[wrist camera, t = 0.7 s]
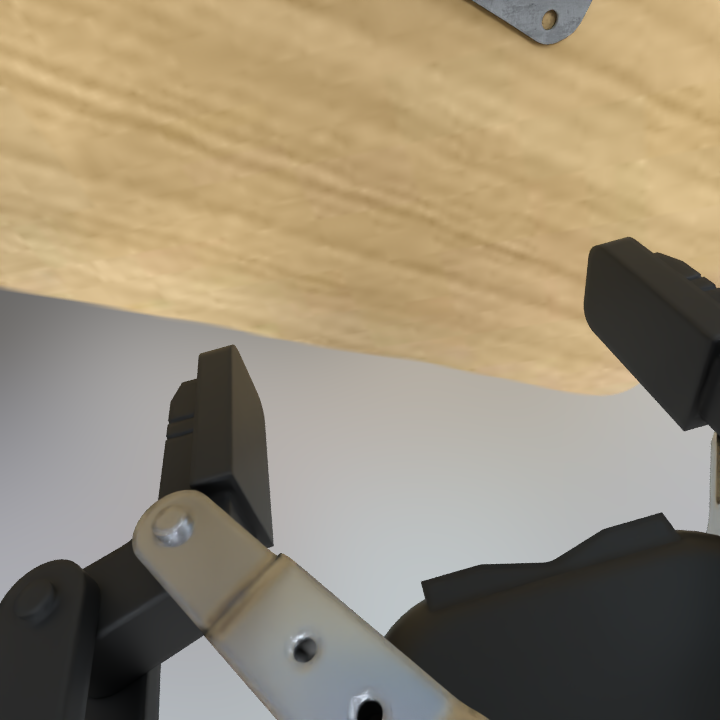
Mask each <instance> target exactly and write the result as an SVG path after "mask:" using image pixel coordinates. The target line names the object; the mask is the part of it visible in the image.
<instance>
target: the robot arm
mask: <svg viewBox="0 0 720 720" xmlns="http://www.w3.org/2000/svg"><path fill="white" fill-rule="evenodd" d="M584 313H585V317H586V320H587V323H588V325H589V327H590V328H591V330H592V331H593V332H594V333H595V334H596V335H597V336H598V337H599V339H600V340H601V341H602V342H603V343H604V344H605V345H606V346H607V347H608V348H609V350H610V351H611V352H612V353H613V354H614V355H615V356H616V357H617V358H618V359H619V360H620V362H621V363H622V364H623V365H624V366H625V367H626V368H627V369H628V370H629V371H630V373H631V374H632V375H633V376H634V377H635V378H636V379H637V380H638V381H639V382H640V384H641V385H642V386H643V387H644V388H645V389H646V390H647V391H648V392H649V393H650V394H651V396H652V397H654V398H655V400H656V401H657V402H658V403H659V404H660V405H661V406H662V408H663V409H664V410H665V411H666V412H667V413H668V414H669V415H670V416H671V417H672V419H674V421H675V422H676V423H677V424H678V425H679V426H680V427H681V428H682V430H683V431H687V430H690V429H694V428H698V427H701V426H705V425H709V426H710V427H711V428H712V429H713V430H714V431H715V432H714V435H713V438H712V441H711V465H710V502H709V521H708V527H707V532H706V533H703V532H698V531H685V530H675V529H674V528H673V527H672V525H671V524H670V523H669V521H668V520H667V519H666V517H665V516H664V514H663V513H658V514H655V515H651V516H648V517H644V518H641V519H637V520H634V521H630V522H627V523H623V524H620V525H616V526H613V527H609V528H606V529H603V530H601V531H600V532H598V533H596V534H595V535H593V536H592V537H590V538H589V539H587V540H585V541H584V542H582V543H581V544H579V545H577V546H576V547H574V548H572V549H571V550H569V551H568V552H566V553H564V554H563V555H561V556H560V557H558V558H556V559H555V560H553V561H550V562H546V563H516V564H482V565H478V566H474V567H470V568H467V569H463V570H460V571H456V572H453V573H450V574H446V575H442V576H439V577H435V578H432V579H429V580H425V581H422V582H421V584H422V588H423V592H424V596H425V600H423V601H421V602H420V603H418V604H417V605H415V606H414V607H412V608H411V609H410V610H409V611H408V612H407V613H405V614H404V615H403V616H401V618H400V619H399V620H398V621H397V622H396V623H395V624H394V625H393V626H392V627H391V629H390V630H389V631H388V632H387V634H386V635H385V637H383V636H382V635H381V634H380V633H379V632H377V631H376V630H375V629H374V628H373V627H372V626H370V625H369V624H368V623H367V622H366V621H364V620H363V619H362V618H361V617H360V616H358V615H357V614H356V613H355V612H354V611H353V610H351V609H350V608H349V607H348V606H347V605H346V604H344V603H343V602H342V601H341V600H339V599H338V598H337V597H336V596H335V595H334V594H333V593H331V592H330V591H329V590H328V589H327V588H325V587H324V586H323V585H322V584H321V583H320V582H318V581H317V580H316V579H315V578H313V577H312V576H311V575H310V574H309V573H308V572H307V571H305V570H304V569H303V568H302V567H301V566H299V565H298V564H297V563H295V562H294V561H293V560H292V559H291V558H289V557H288V556H286V555H284V554H282V553H280V554H279V555H278V556H277V555H275V554H274V553H272V552H271V551H270V550H269V549H268V548H269V547H272V546H274V544H273V530H272V517H271V504H270V503H271V502H270V488H269V474H268V460H267V446H266V432H265V420H264V413H263V409H262V405H261V401H260V398H259V396H258V393H257V391H256V389H255V387H254V384H253V382H252V380H251V378H250V376H249V373H248V371H247V369H246V367H245V365H244V362H243V360H242V358H241V356H240V354H239V351H238V350H237V348H236V346H235V345H230V346H226V347H222V348H219V349H215V350H212V351H208V352H205V353H201V354H200V355H199V360H198V373H197V379H194V380H190V381H187V382H183V383H182V384H181V386H180V387H179V389H178V391H177V392H176V394H175V395H174V397H173V399H172V400H171V404H170V411H169V419H168V421H169V424H168V427H167V435H166V437H167V440H166V442H165V450H164V458H163V466H162V475H161V482H160V490H159V498H158V501H157V502H155V503H154V504H153V505H152V506H151V507H150V508H149V509H147V510H146V512H145V513H144V514H143V515H142V517H141V518H140V520H139V521H138V523H137V525H136V527H135V530H134V533H133V538H132V539H131V540H130V541H129V542H128V543H126V544H125V545H123V546H122V547H120V548H118V549H117V550H115V551H113V552H111V553H110V554H108V555H107V556H104V557H103V558H101V559H99V560H98V561H96V562H94V563H92V564H91V565H89V566H87V567H86V568H84V569H82V568H81V567H80V566H79V565H77V564H76V563H74V562H73V561H70V560H63V559H61V560H54V561H50V562H47V563H44V564H42V565H40V566H38V567H36V568H34V569H33V570H31V571H30V572H28V573H27V574H25V575H24V576H23V577H22V578H21V579H19V580H18V581H17V582H16V583H15V584H14V586H13V587H12V588H11V589H10V590H9V591H8V593H7V594H6V595H5V597H4V598H3V600H2V601H1V603H0V720H158V719H159V694H160V669H161V663H162V662H164V661H165V660H167V659H168V658H170V657H171V656H173V655H174V654H176V653H178V652H179V651H181V650H182V649H184V648H185V647H187V646H188V645H189V644H191V643H193V642H194V641H196V640H197V639H199V638H200V637H202V636H203V635H204V636H205V637H206V638H207V640H208V641H209V642H210V643H211V644H212V645H213V646H214V648H215V649H216V650H217V651H218V652H219V654H220V655H221V656H222V657H223V658H224V659H225V660H226V662H227V663H228V664H229V665H230V666H231V667H232V669H233V670H234V671H235V672H236V673H237V674H238V675H239V677H240V678H241V679H242V680H243V681H244V682H245V684H246V685H247V686H248V687H249V688H250V689H251V690H252V692H253V693H254V694H255V695H256V696H257V697H258V699H259V700H260V701H261V702H262V703H263V704H264V705H265V706H266V707H267V709H268V710H269V711H270V712H271V713H272V715H273V716H274V717H275V718H276V719H277V720H720V288H716V286H715V284H714V283H712V282H711V281H709V280H708V279H707V278H705V277H701V274H700V273H698V272H697V271H696V270H694V269H693V268H691V267H690V266H689V265H687V264H686V263H685V262H683V261H681V260H678V259H675V258H672V257H670V256H667V255H664V254H661V253H658V252H657V253H652V252H651V251H650V250H648V249H647V248H646V247H644V246H643V245H642V244H640V243H639V242H638V241H636V240H635V239H633V238H631V237H626V238H622V239H618V240H615V241H611V242H608V243H604V244H600V245H597V246H594V247H592V249H591V250H590V253H589V257H588V267H587V276H586V286H585V296H584Z"/></svg>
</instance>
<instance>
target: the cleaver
mask: <svg viewBox="0 0 720 720" xmlns="http://www.w3.org/2000/svg"><path fill="white" fill-rule="evenodd" d="M472 1H474V2H475V3H477V4H478V5H480V6H482V7H483V8H485V9H486V10H488V11H490V12H491V13H493V14H494V15H496V16H498V17H499V18H501V19H502V20H504V21H506V22H507V23H509V24H510V25H512V26H513V27H515V28H517V29H518V30H520V31H521V32H523V33H524V34H526V35H527V36H529V37H530V38H532V39H533V40H535V41H537V42H538V43H542V44H547V45H548V44H553V43H556V42H558V41H560V40H562V39H564V38H566V37H568V36H569V35H570V34H572V33H573V32H574V31H575V30H576V28H577V27H578V26H579V24H580V23H581V21H582V19H583V17H584V15H585V13H586V12H587V10H588V8H589V6H590V4H591V2H592V0H472ZM551 9H552V10H554V11H555V12H556V14H557V19H556V23H555V24H554V26H553V27H552V28H551V29H549V30H545V29H544V28H543V26H542V18H543V16H544V14H545V13H546V12H547V11H549V10H551Z"/></svg>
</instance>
